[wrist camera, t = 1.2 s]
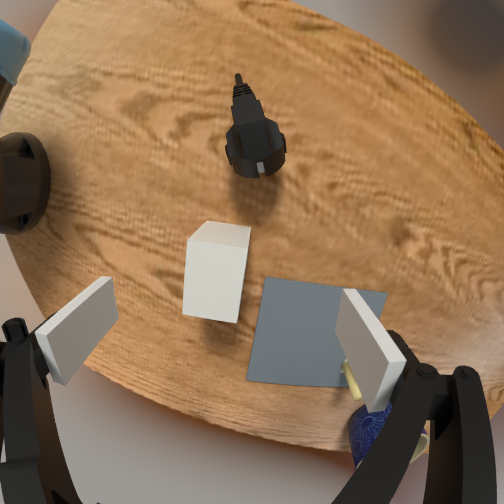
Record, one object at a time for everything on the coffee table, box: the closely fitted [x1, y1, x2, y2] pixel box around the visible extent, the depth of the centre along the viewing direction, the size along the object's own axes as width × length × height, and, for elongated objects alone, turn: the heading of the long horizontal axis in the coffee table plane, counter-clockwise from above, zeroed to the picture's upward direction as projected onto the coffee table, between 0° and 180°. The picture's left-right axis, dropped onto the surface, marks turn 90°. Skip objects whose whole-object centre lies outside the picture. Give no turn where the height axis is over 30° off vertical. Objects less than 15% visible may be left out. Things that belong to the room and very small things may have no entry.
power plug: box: [225, 73, 287, 178], centre depth 27 cm, size 6×8×12 cm
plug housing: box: [182, 221, 251, 323], centre depth 28 cm, size 5×7×9 cm
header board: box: [246, 276, 388, 401], centre depth 32 cm, size 16×16×7 cm
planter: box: [349, 401, 430, 469], centre depth 35 cm, size 12×12×11 cm
